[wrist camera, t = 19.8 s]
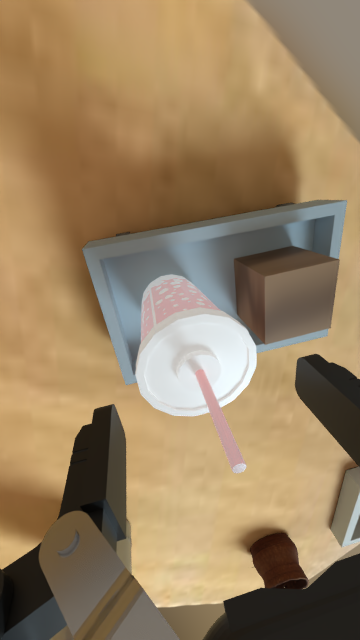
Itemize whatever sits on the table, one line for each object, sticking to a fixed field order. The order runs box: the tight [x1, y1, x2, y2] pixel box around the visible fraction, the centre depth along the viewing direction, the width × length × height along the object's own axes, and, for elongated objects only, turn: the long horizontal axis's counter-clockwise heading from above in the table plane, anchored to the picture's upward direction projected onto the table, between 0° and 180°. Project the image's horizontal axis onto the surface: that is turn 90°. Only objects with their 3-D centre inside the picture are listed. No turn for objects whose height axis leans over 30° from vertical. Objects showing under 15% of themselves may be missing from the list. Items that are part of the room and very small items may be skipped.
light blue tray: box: [82, 200, 347, 385], centre depth 21 cm, size 18×11×4 cm, turn 98°
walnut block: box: [234, 246, 339, 345], centre depth 19 cm, size 5×5×5 cm
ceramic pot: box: [250, 533, 309, 589], centre depth 47 cm, size 18×18×7 cm
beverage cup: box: [135, 274, 256, 473], centre depth 14 cm, size 6×6×14 cm
